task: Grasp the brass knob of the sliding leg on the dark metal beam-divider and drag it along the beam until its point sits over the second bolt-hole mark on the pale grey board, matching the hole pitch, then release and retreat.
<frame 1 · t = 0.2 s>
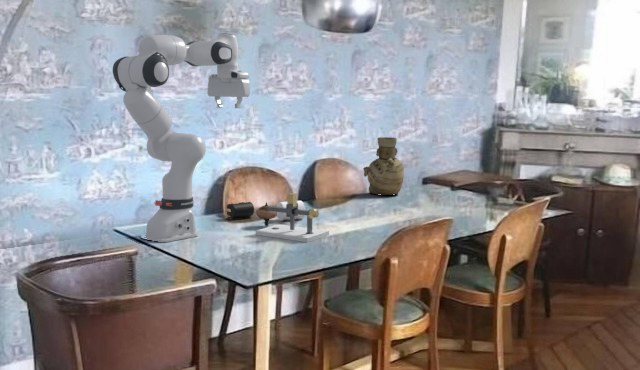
hand: (228, 107, 289), 48 cm above the table, fingers open, 8 cm apart
hole board: (292, 234, 269), on the table
ceramic vessel: (385, 194, 366), on the table
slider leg: (292, 211, 267), point 9 cm above the table, slide at 0.0 cm
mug: (292, 221, 297), on the table
end cap: (240, 218, 302), on the table
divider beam: (292, 218, 268), on the hole board, point 6 cm above the table
brown spinning top: (266, 226, 284), on the table
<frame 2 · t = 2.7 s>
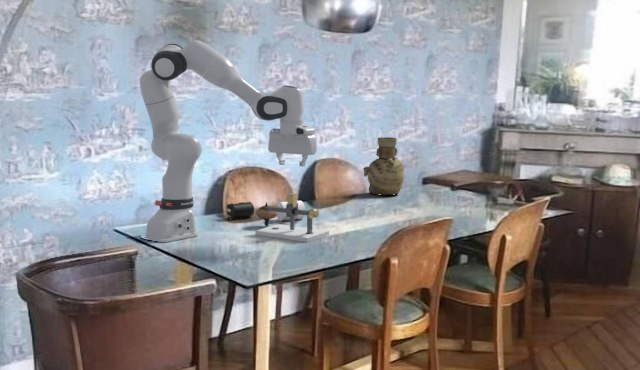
hand: (292, 165, 265), 27 cm above the table, fingers open, 8 cm apart
nothing on the table moved.
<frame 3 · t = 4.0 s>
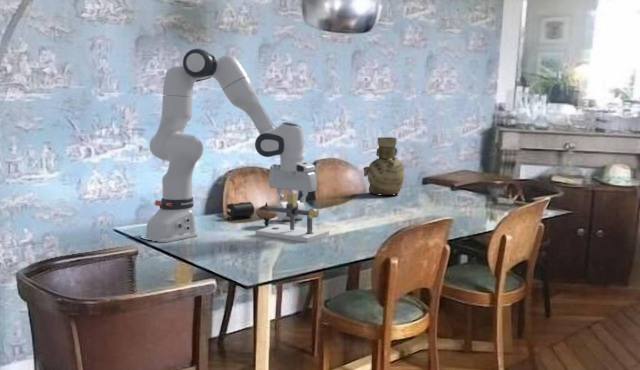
hand: (292, 201, 267), 13 cm above the table, fingers open, 8 cm apart
nothing on the table moved.
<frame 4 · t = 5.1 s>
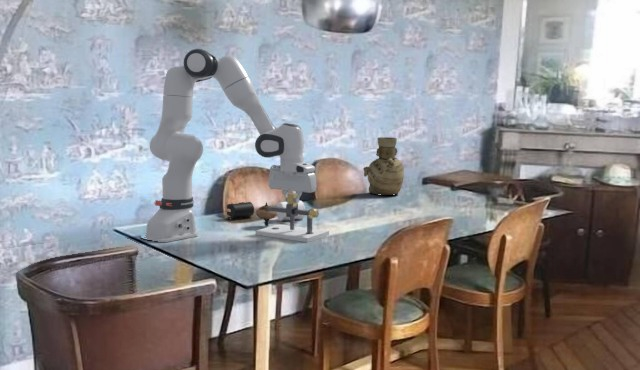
hand: (292, 202, 267), 13 cm above the table, fingers closed on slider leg, 3 cm apart
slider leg: (292, 211, 267), point 9 cm above the table, slide at 0.0 cm, touching gripper
everything else where it was.
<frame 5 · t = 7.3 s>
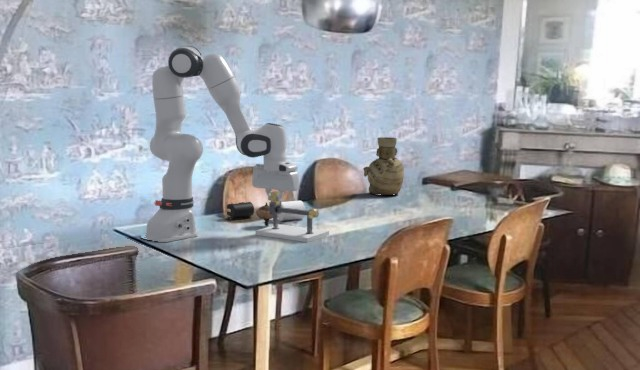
hand: (275, 200, 271), 13 cm above the table, fingers closed on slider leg, 3 cm apart
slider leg: (275, 209, 272), point 9 cm above the table, slide at 8.0 cm, touching gripper
everything else where it was.
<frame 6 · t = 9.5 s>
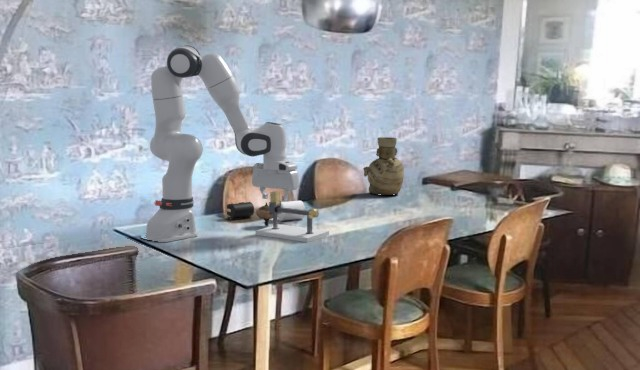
hand: (274, 199, 271), 13 cm above the table, fingers open, 8 cm apart
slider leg: (275, 209, 272), point 9 cm above the table, slide at 8.1 cm
everything else where it was.
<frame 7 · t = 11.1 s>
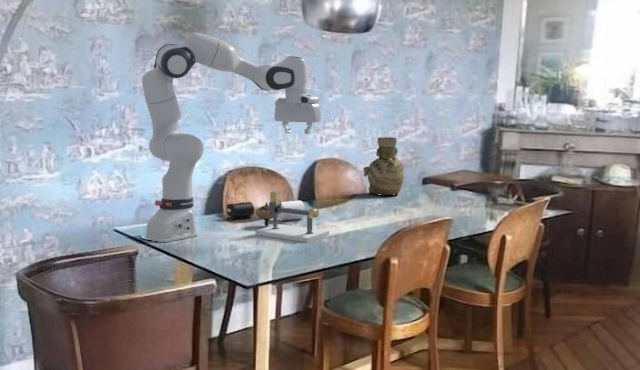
hand: (297, 133, 277), 38 cm above the table, fingers open, 8 cm apart
nothing on the table moved.
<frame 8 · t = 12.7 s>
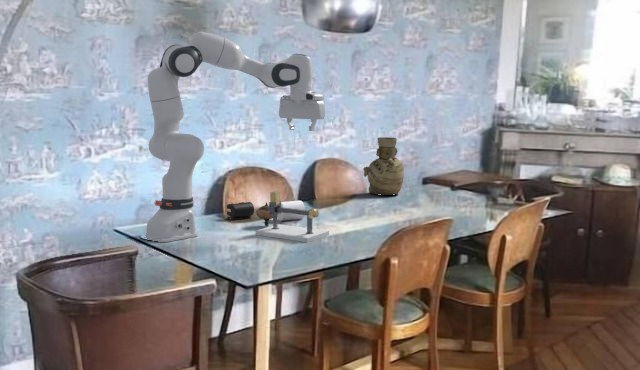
hand: (301, 130, 279), 39 cm above the table, fingers open, 8 cm apart
nothing on the table moved.
at the end: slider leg slide at 8.1 cm; the gripper is holding nothing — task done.
